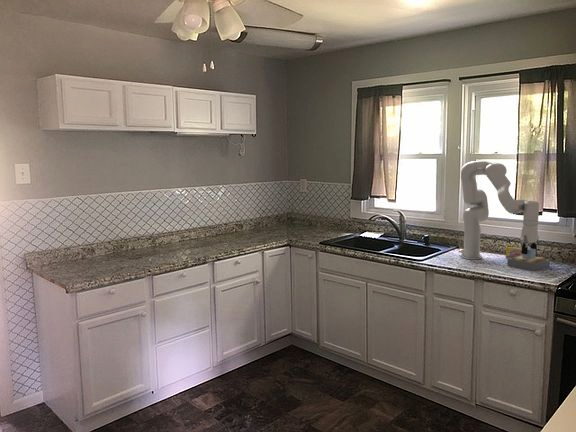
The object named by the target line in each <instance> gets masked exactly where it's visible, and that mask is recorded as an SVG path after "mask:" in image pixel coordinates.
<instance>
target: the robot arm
mask: <svg viewBox="0 0 576 432" xmlns="http://www.w3.org/2000/svg"><path fill="white" fill-rule="evenodd" d="M507 171H508V170H507V167H506V166H505V165H504V164H502V163H499V162H492V161H485V160H475V161H474V160H473V161H469V162H467V163H465V164H464V165H463V166H462V167H461V170H460V180H461V186H462V195H463V196H462V197H463V202H464V203H465V204H466V205H467V206H472V207H468V208H466V209H465V210H464V212H463V215H462V216H463V225H464V228H463V230H464V231H463V233H464V234H463V248H460V249H459V250H458V253H459V254H461V255H460V258H463V259H465V260H481V259H483V255H481V254H480V253H481V233H482V232H481V231H482V230H481V225H480V223H481V222H485V221H486V220H488V218H489V215H490V214H489V211H490V210H489V202H488V196H487V193H486V192H485V191H484V190H483V189H478V183H477V180H476V178H475V176H486V177H487V178H488V180H489V182H490V183H491V184H492V186H493V187H494V188H495V190H496V191H497V198H498V200H499V203H500V204H501V206H502V207H503V208H504V210H505V211H506V212H507V213H509V214H511V215H512V214H520V213H521V214H522V213H523V217H522V218H523V219H522V220H523V221H522V227H521V235H520V241H519V242H520V245H521V247H520V248H522V250H521V253H522V254H527V251H528V248H529V247H528V245H530V248H531V249H536V253H537V249H538V248H537V247H538V242H539V238H540V237H539V236H538V231H539V230H538V227H539V214H540V213H539V212H540V210H539V209H540V203H539V202H538V201H537V200H525V199H514V198H513V196H512V195H511V194H510V193H511V192H510V189H509V188H510V186H511V185H512V183H511V181H510V179H509V178H508V177H507V176H506V174H507Z"/></svg>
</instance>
